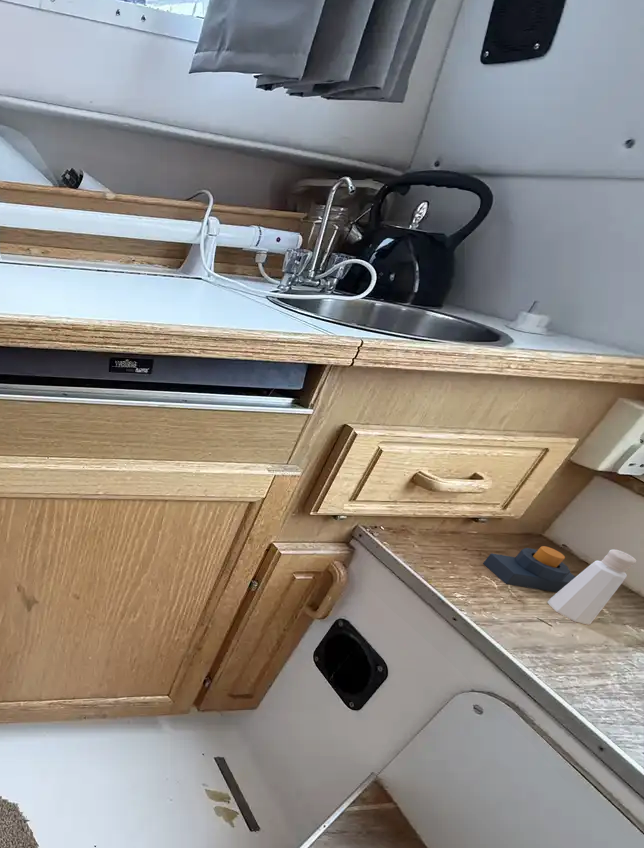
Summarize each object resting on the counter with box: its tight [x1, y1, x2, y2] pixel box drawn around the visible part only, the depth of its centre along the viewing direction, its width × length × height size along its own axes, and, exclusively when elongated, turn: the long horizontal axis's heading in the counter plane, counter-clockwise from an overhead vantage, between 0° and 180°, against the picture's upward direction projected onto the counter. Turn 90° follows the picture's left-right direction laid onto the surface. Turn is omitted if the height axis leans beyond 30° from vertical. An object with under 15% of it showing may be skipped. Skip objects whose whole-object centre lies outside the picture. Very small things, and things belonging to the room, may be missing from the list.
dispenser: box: [482, 547, 576, 593], centre depth 87 cm, size 12×6×4 cm, turn 88°
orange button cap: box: [533, 545, 566, 568], centre depth 85 cm, size 3×3×2 cm
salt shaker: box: [546, 548, 637, 626], centre depth 79 cm, size 5×5×11 cm
